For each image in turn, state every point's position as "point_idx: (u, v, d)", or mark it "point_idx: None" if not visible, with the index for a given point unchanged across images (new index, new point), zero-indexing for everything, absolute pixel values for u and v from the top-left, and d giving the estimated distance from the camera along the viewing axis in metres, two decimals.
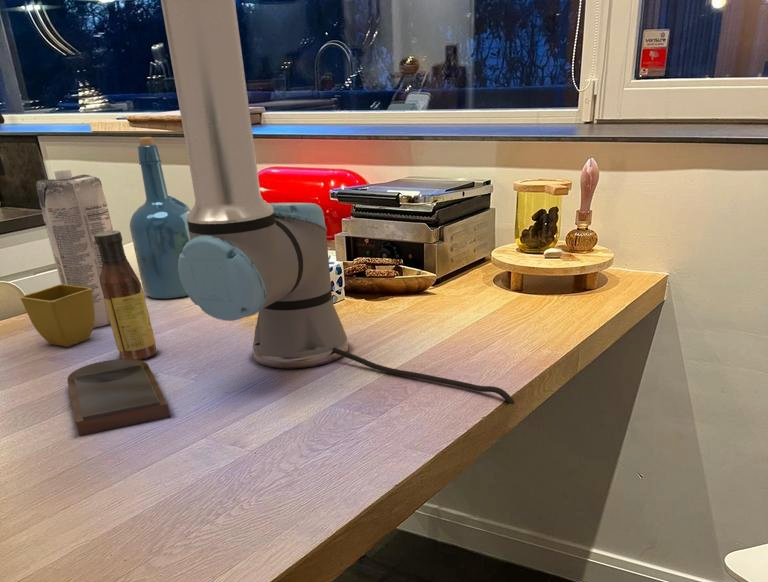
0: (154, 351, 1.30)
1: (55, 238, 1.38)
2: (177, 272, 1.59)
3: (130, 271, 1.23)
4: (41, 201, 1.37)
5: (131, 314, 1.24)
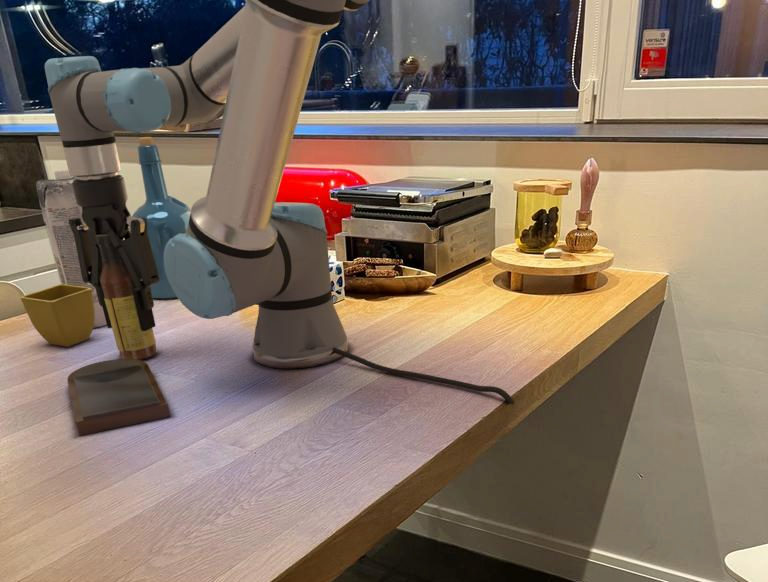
0: (154, 351, 1.30)
1: (55, 238, 1.38)
2: None
3: None
4: (41, 201, 1.37)
5: (131, 314, 1.24)
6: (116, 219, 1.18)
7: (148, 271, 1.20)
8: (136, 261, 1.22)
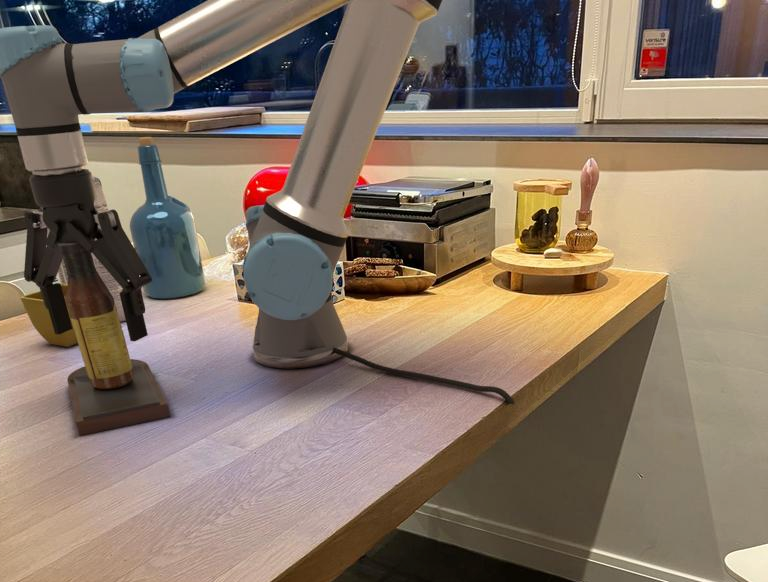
0: (131, 378, 1.11)
1: None
2: (177, 272, 1.59)
3: (101, 286, 1.05)
4: None
5: (102, 336, 1.06)
6: (82, 222, 0.99)
7: (134, 269, 1.00)
8: (117, 261, 1.02)
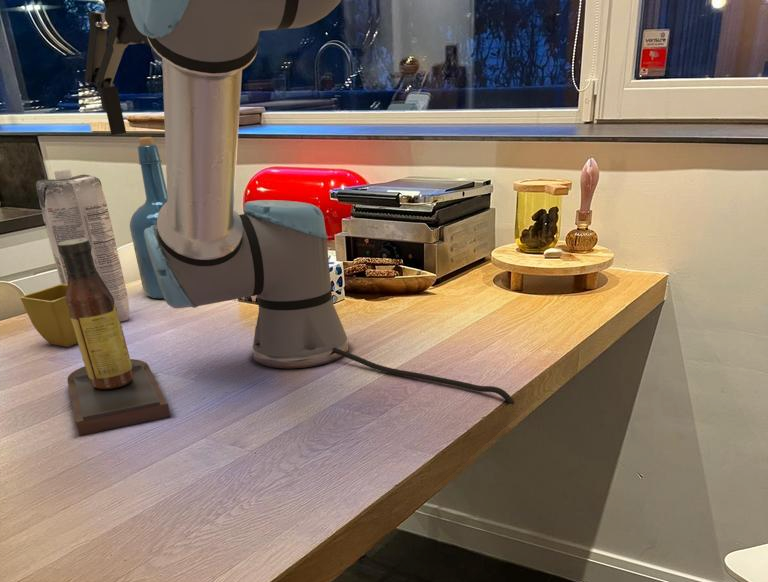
0: (131, 378, 1.11)
1: (55, 238, 1.38)
2: None
3: (101, 286, 1.05)
4: (41, 201, 1.37)
5: (102, 336, 1.06)
6: None
7: None
8: None
